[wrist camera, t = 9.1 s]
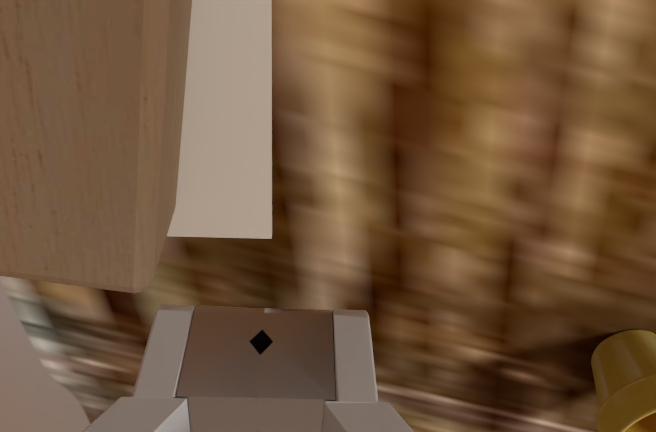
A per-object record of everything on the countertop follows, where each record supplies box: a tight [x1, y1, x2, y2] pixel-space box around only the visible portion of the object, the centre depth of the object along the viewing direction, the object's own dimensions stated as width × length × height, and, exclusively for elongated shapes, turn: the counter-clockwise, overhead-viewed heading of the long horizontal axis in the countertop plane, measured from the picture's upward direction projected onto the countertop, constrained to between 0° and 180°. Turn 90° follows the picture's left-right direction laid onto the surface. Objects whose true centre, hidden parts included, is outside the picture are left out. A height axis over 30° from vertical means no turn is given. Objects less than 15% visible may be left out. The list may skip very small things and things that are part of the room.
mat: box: [167, 0, 272, 239], centre depth 43 cm, size 20×16×1 cm
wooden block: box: [0, 0, 192, 293], centre depth 37 cm, size 10×10×20 cm
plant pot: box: [591, 330, 656, 432], centre depth 54 cm, size 10×10×10 cm
